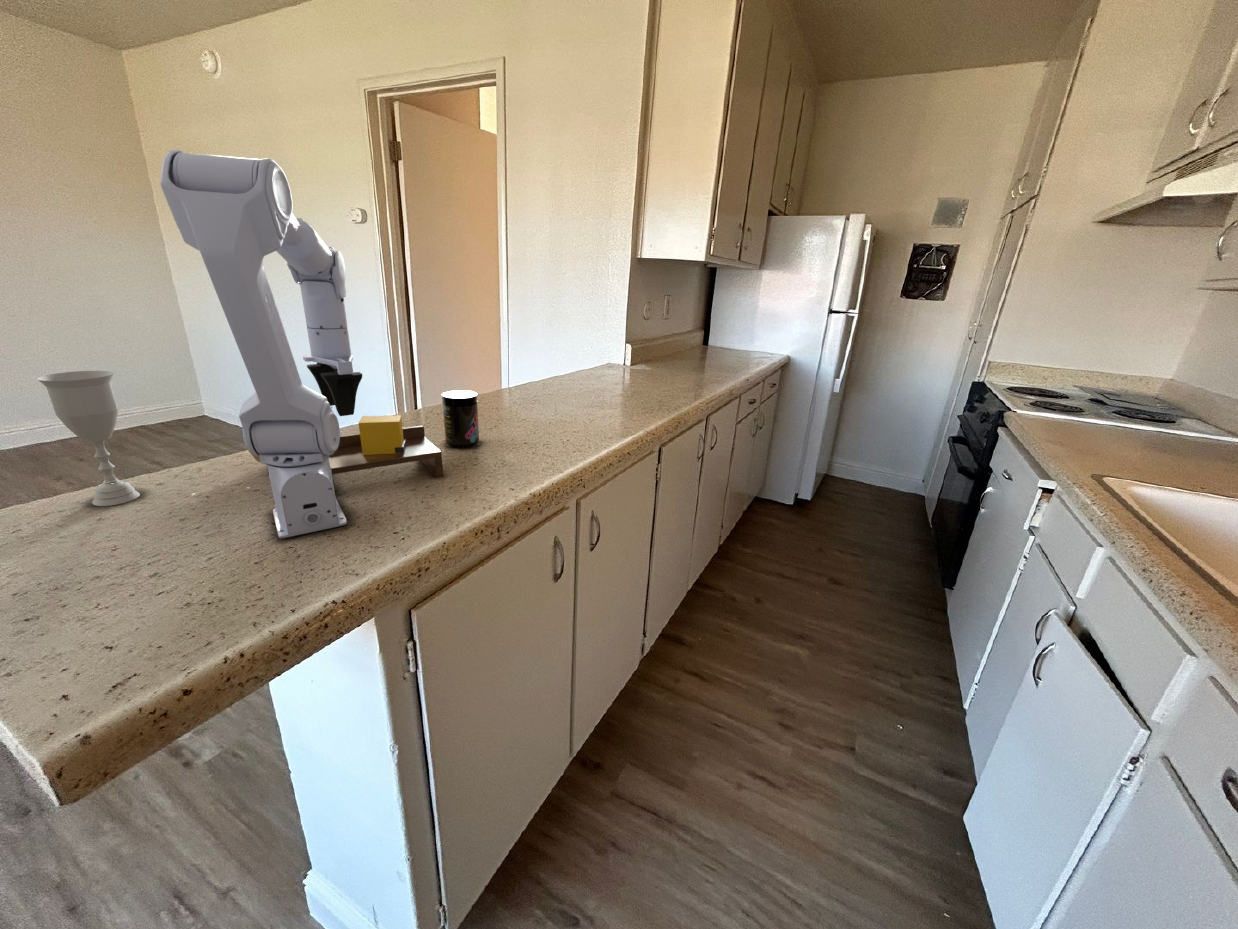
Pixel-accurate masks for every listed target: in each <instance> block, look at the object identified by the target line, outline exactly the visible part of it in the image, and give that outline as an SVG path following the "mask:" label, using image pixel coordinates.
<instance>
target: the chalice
mask: <svg viewBox="0 0 1238 929" xmlns="http://www.w3.org/2000/svg"><path fill="white" fill-rule="evenodd" d="M113 377H114V372H113V371H109V370H78V371H66V372H55V373H50V374H46V375H41V376H39V377H36V379H37V381H38V382H39V383H40V384H42V385H43V386H45V387H46V391H47V393H48V396H49V398H50V402H51V405H52V407H53V410H54V413H55V415H56V417H57V418H58V419H59V421H60V422H61V423H62V424H63V425H64V426H65V427H66V428H67V429H68V430H69V431H70V432H71V433H73V434H74V435H75V436H76V437H78V438H79V439H80V440H81V441H82V442H84V443H91V444H92V445H93V446H94V448H95V454H94V458H96V459H97V460H98V461H99V466H98V468H97V470H99V471H101V473H102V475H103V476H104V480H102V483H100V484H98V485H97V487H96V488H95V489H94V491H95V493H94V494H93V500H92V502H91V504H92V506H93V505H94V506H96V507H111V506H116V505H121V504H125V503H128V502H132V501H134V500H135V499H138V498H139V497H140V496H141V494H140V493H139V492H138V491H137V490H135V488H134V486H132V485H131V483H129V482H128V481H126V480H120V479H119V478H117V477H116V476H115V475H114V468H115V467H116V465H115V464H113V463H111V462H110V456H111V452H109V451H108V450H107V448H106V447H105V442H106V441H108V440H110V439H111V438H112V436H113V433H114V430H115V428H116V424H117V421H118V415H119V410H120V409H119V405H118V401H117V397H116V394H115V390H114V388H113V385H112V379H113ZM117 482H118V483H117ZM111 483H114V484H111ZM101 485H103V486H101ZM98 486H100V487H98Z"/></svg>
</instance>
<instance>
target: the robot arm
mask: <svg viewBox="0 0 1238 929" xmlns="http://www.w3.org/2000/svg"><path fill="white" fill-rule="evenodd" d="M160 169H161V172H160V182H159V184H160V187H161V190H162V193H163V195H164V198H165V200H166V203H167V206H168V207H169V209H170V212H171V214H172V218H173V220H174V222H175V224H176V227H177V229H178V230H179V232H180V234H181V237H182V240H183V242H184V243H185V244H186V245H188V246H190V247H192V248H194V249H195V250H197V251H198V252H199V253H200V255H201V258H202V260H203V263H204V265H205V268H206V270H207V273H208V275H209V279H210V280H211V283H212V286H213V289H214V291H215V292H216V295H217V299H218V300H219V303H220V306H221V308H222V310H223V313H224V316H225V318H226V321H227V323H228V325H229V328H230V331H231V333H232V336H233V338H234V340H235V344H236V346H237V348H238V351H239V354H240V356H241V359H242V361H243V363H244V366H245V369H246V371H247V373H248V376H249V379H250V381H251V384H252V386H253V389H254V391H255V392H253V394H251V395H250V396H249V397H248V398H247V399H246V400H245V401H244V402H243V404H242V406H241V408H240V411H239V415H238V417H239V421H240V424H241V427H242V438H243V442H244V445H245V448H246V447H247V448H246V450H247V451H248V450H249V451H250V452H251V453H252V454H253V455H254V456H256V457H260V462H259V463H260V464H263V465H266V464H267V465H266V467H267V472H268V477H269V481H270V486H271V491H272V496H273V501H274V505H275V508H273V509H272V514H273V518H274V523H275V528H276V532H277V536H278V538H279V539H287V538H291V537H296V536H301V535H305V534H310V533H315V532H318V531H319V532H320V531H324V530H328V529H329V530H330V529H334V528H337V527H342V526H346V525H347V524H348V520H347V518H346V516H345V513H344V511H343V510H342V508H341V506H340V504H339V502H338V499H337V498H336V492H335V486H334V478H333V474H332V472H331V466H330V460H329V455H332V454H333V453H334V452H335V451H336V450H337V448H338V446H339V441H340V436H341V429H340V422H339V419H338V417H337V415H336V414H335V413H334V411H333V409H332V407H333V406H335V410H336V412H337V414H338V416H339V417H345V416H353V415H354V414H355V410H356V409H355V408H356V399H357V393H358V392H357V391H358V388H359V385H360V383H361V381H362V379H363V373H362V372H360V371H355V372H354V369H353V360H354V355H353V353H352V351H351V350H352V349H351V343H350V342H351V341H350V335H349V329H348V328H349V327H348V320H347V313H346V305H345V298H347V297H346V296H347V289H346V280H347V278H346V277H347V276H346V275H347V274H346V273H347V272H346V264H345V261H344V257H343V254H342V253H341V251H339V250H336V249H335V247H333V246H327V245H326V243H325V242H324V241H323V239H322V238H321V237H320V236H319V234H318V233H317V232H316V231H315V230H314V228H313V227H312V225H311V224H309V223H308V222H307V221H305V219H303V218H302V217H295V215H294V213H293V208H294V207H293V206H294V205H293V197H292V196H293V195H292V190H291V186H290V183H289V181H288V178H287V176H286V174H285V171H284V170H283V169H282V167H281V166H280V165H279V164H278V163H277V162H276V161H275V160H274V159H272V158H267V157H264V158H260V159H259V158H248V157H237V156H227V155H215V154H204V153H193V152H184V151H183V150H179V149H170V150H168V151H167V152H166V153H165V155H164V158H163V160H162V163H161V168H160ZM274 252H276V253H277V254H278V255H279V256H281V257H282V259H283V260H285V261H286V265H287V267H288V269H289V271H290V274H291V276H292V279H293V280H294V282H295V284H296V285H297V284H298V285H299V288H300V292H301V294H300V295H301V300H302V304H303V305H302V306H303V312H304V319H305V324H306V330H307V337H308V343H309V350H310V354H309V355H307V354H306V355H303V356H302V360H303V361H304V362H307V363H308V362H309V363H310V362H313V363H312V364H306V368H307V369H308V371H309V372H310V373H311V375H312V376H313V378H314V380H315V382H316V383H317V386H318V388H319V392H320V393H319V392H318V391H316V390H314V389H311V388H310V387H308V386H306V385H304V384H303V383H302V379H301V375H300V374H299V371H298V367H297V364H296V361H295V358H294V355H293V351H292V349H291V346H290V343H289V340H288V337H287V333H286V330H285V327H284V324H283V322H282V319H281V315H280V312H279V309H278V306H277V303H276V299H275V297H274V293H273V290H272V288H271V284H270V281H269V278H268V276H267V272H266V270H265V266H264V263H263V262H264V261H263V260H264V257H265V256H268V255H270V254H272V253H274ZM331 406H332V407H331ZM249 451H248V452H249ZM250 452H249V453H250ZM251 453H250V454H251ZM252 454H251V455H252Z"/></svg>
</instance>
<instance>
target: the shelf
mask: <svg viewBox="0 0 1238 929" xmlns="http://www.w3.org/2000/svg"><path fill="white" fill-rule="evenodd" d="M403 437H404V440H406V447H405V451H404V453H396V454H374V455H363V453H362V445H361V439H360V432H358V433H351V434H342V435H341V434H340V441H339V446H338V448H337V450H336V451H335V452H334V453H333V454H332V455H329V460H330V466H331V472H332V475H337V474H338V475H339V474H343V473H344V474H345V473H351V472H356V471H363V470H369V469H370V470H371V469H375V468H376V469H377V468H381V467H388V466H394V465H399V464H406V463H412V462H419V461H420V462H421V463H422V464H423V465H424V466H425V467H426V468H427V469H428V470H429V471H430V472H431V473H432V474H433V475H434V476H435V477H436V478H438V477H439V478H440V477H443V476H444V467H443V453H442V451H441V449H440V448H438V447H437V446H436V445H435V444H433V442H431V440H429V439H427V437H426V432H425V426H424V425H416V426H414V425H413V426H407V427H403Z"/></svg>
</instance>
